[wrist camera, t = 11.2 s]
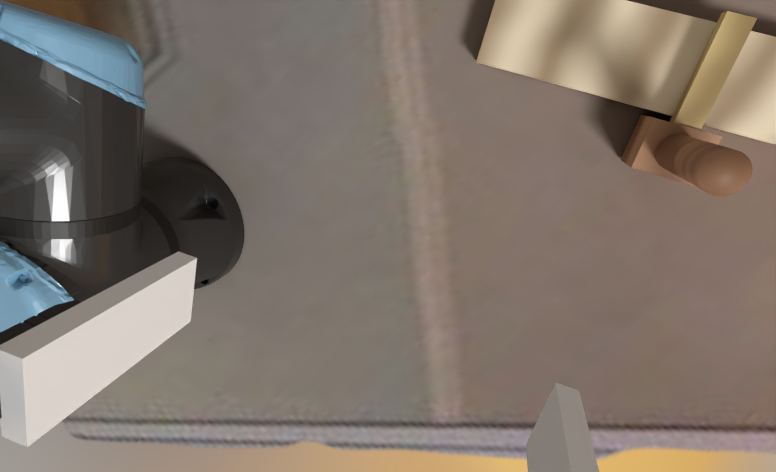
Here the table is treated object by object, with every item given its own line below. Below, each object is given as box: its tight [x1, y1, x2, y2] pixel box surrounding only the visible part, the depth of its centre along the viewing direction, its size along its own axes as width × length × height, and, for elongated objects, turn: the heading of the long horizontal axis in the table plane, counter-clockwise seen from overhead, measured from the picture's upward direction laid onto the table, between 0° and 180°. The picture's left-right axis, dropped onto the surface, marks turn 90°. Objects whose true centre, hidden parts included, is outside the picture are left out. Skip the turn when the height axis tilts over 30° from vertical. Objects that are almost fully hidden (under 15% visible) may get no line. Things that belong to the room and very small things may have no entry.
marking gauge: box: [621, 11, 757, 196], centre depth 32 cm, size 5×12×13 cm, turn 165°
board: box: [476, 0, 776, 144], centre depth 37 cm, size 24×7×2 cm, turn 75°
